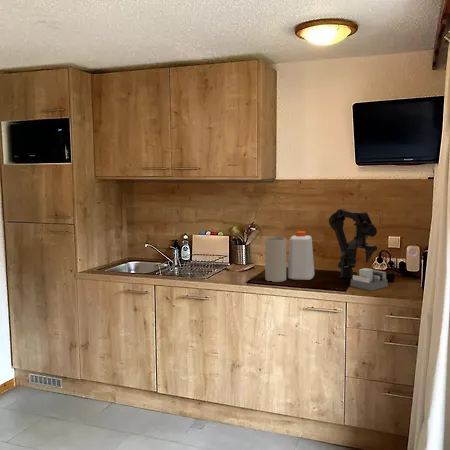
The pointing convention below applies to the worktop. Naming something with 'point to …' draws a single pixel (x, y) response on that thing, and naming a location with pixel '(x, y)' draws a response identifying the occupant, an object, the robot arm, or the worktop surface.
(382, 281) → the base
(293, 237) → the plastic bottle
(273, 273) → the cylinder vase
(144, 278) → the worktop surface
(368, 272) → the block
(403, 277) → the worktop surface
